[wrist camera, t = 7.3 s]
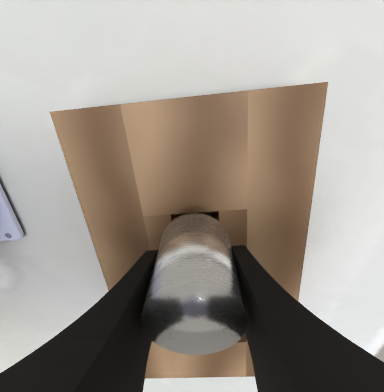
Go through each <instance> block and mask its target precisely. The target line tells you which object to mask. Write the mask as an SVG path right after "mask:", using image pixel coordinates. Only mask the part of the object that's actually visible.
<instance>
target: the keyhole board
mask: <svg viewBox="0 0 384 392" xmlns="http://www.w3.org/2000/svg"><path fill="white" fill-rule="evenodd" d="M327 86H328V82H323V83H314V84H304V85H295V86H286V87H277V88H267V89H258V90H249V91H239V92H230V93H221V94H212V95H202V96H193V97H184V98H175V99H165V100H156V101H147V102H137V103H128V104H119V105H110V106H100V107H91V108H82V109H73V110H63V111H54V112H50V114H51V117H52V120H53V123H54V126H55V129H56V132H57V135H58V138H59V141H60V144H61V148H62V151H63V154H64V157H65V160H66V163H67V166H68V169H69V172H70V175H71V178H72V181H73V184H74V187H75V190H76V193H77V196H78V199H79V202H80V205H81V208H82V211H83V214H84V217H85V220H86V223H87V226H88V229H89V232H90V235H91V238H92V241H93V244H94V247H95V250H96V253H97V257H98V260H99V263H100V266H101V269H102V272H103V275H104V278H105V281H106V284H107V287H108V290H109V291H110V290H111V289H112V288H113V287H114V286H115V285H116V284H117V282H118V281H119V280H120V279H121V278H122V277H123V276H124V275H125V274H126V273H127V272H128V271H129V269H130V268H131V267H132V266H133V265H134V264H135V263H136V262H137V260H138V259H139V258H140V257H141V256H142V255H143V254H144V253H145V251H150V250H159V246H160V242H161V238H162V235H163V232H164V230H165V228H166V227H167V225H168V224H169V223H170V222H171V221H173V220H174V219H173V214H184V213H198V212H213V211H218V221H219V222H220V223H221V224H222V225H223V226H224V227H225V229H226V230H227V233H228V236H229V240H230V244H231V249H232V246H237V245H245V246H246V247H247V248H248V250H249V251H250V252H251V254H252V255H253V256H254V257H255V259H256V260H257V261H258V262H259V263H260V264H261V265H262V267H263V268H264V269H265V270H266V271H267V272H268V273H269V274H270V275H271V276H272V277H273V278H274V279H275V280H276V281H277V282H278V283H279V284H280V285H281V286H282V287H283V288H284V289H285V290H286V291H287V292H288V293H289V294H290V295H291V296H292V297H293V298H295V299H296V300H297V301H298V298H299V291H300V283H301V276H302V269H303V261H304V254H305V247H306V240H307V232H308V225H309V218H310V210H311V203H312V196H313V188H314V181H315V174H316V166H317V159H318V152H319V144H320V137H321V130H322V123H323V115H324V108H325V101H326V93H327ZM247 376H255V373H254V368H253V363H252V358H251V354H250V350H249V346H248V342H247V338H246V335H245V333H244V335H243V336H242V338H241V339H240V340H239V341H238V342H237V343H235V344H234V345H232V346H231V347H229V348H227V349H225V350H222V351H219V352H216V353H212V354H205V355H187V354H180V353H176V352H172V351H170V350H167V349H165V348H162V347H161V346H159V345H157V344H156V343H154V342H153V341H152V343H151V347H150V351H149V356H148V361H147V366H146V373H145V378H193V377H247Z"/></svg>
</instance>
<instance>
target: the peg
mask: <svg viewBox="0 0 384 392" xmlns="http://www.w3.org/2000/svg"><path fill="white" fill-rule="evenodd" d="M173 219H174V220H173V221H171V222H170V223H169V224H168V225H167V227H166V228H165V230H164V232H163V235H162V238H161V242H160V246H159V250H158V254H157V257H156V261H155V265H154V269H153V273H152V276H151V280H150V284H149V288H148V292H147V295H146V299H145V303H144V307H143V311H142V315H141V324H142V328H143V330H144V332H145V333H146V335H147V336H148V337H149V338H150V339H151V340H152V341H153V342H154V343H156V344H157V345H159V346H161V347H162V348H165V349H167V350H170V351H172V352H176V353H180V354H187V355H205V354H212V353H216V352H219V351H222V350H225V349H227V348H229V347H231V346H232V345H234V344H235V343H237V342H238V341H239V340H240V339H241V338H242V336H243V335H244V333H245V331H246V328H247V323H248V322H247V315H246V311H245V306H244V302H243V297H242V293H241V288H240V284H239V280H238V275H237V271H236V266H235V262H234V257H233V253H232V249H231V244H230V240H229V236H228V233H227V230H226V229H225V227H224V226H223V225H222V224H221V223H220V222H219V221H218V211H213V212H198V213H184V214H173Z"/></svg>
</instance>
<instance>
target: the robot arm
mask: <svg viewBox="0 0 384 392" xmlns="http://www.w3.org/2000/svg"><path fill="white" fill-rule="evenodd" d="M10 234H11V235H10ZM23 236H24V233H23V231H22V229H21V226H20V224H19V222H18V220H17V218H16V216H15V214H14V212H13V210H12V207H11V205H10V203H9V201H8V199H7V197H6V195H5V193H4V190H3V188H2V186H1V184H0V241H11V240H19V239H21V238H22V237H23ZM232 253H233V257H234V262H235V266H236V271H237V275H238V280H239V284H240V288H241V293H242V297H243V302H244V306H245V311H246V315H247V322H248V323H247V328H246V331H245V335H246V338H247V342H248V346H249V350H250V354H251V358H252V363H253V368H254V373H255V379H256V384H257V389H258V392H384V362H382V361H381V360H379V359H377V358H376V357H374V356H373V355H371V354H370V353H368V352H367V351H365V350H364V349H362V348H360V347H359V346H357V345H356V344H354V343H353V342H351V341H350V340H348V339H347V338H345V337H344V336H342V335H341V334H340V333H338V332H337V331H336V330H334V329H333V328H331V327H330V326H329V325H327V324H326V323H325V322H323V321H322V320H320V319H319V318H318V317H316V316H315V315H314V314H313V313H311V312H310V311H309V310H308V309H306V308H305V307H304V306H303V305H302V304H300V303H299V302H298V301H297V300H296V299H295V298H293V297H292V296H291V295H290V294H289V293H288V292H287V291H286V290H285V289H284V288H283V287H282V286H281V285H280V284H279V283H278V282H277V281H276V280H275V279H274V278H273V277H272V276H271V275H270V274H269V273H268V272H267V271H266V270H265V269H264V268H263V267H262V265H261V264H260V263H259V262H258V261H257V260H256V259H255V257H254V256H253V255H252V254H251V252H250V251H249V250H248V248H247V247H246V246H245V245H237V246H232ZM157 254H158V250H150V251H145V253H144V254H143V255H142V256H141V257H140V258H139V259H138V260H137V262H136V263H135V264H134V265H133V266H132V267H131V268H130V269H129V271H128V272H127V273H126V274H125V275H124V276H123V277H122V278H121V279H120V280H119V281H118V282H117V284H116V285H115V286H114V287H113V288H112V289H111V290H110V291H109V292H107V293H106V294H105V295H104V296H103V297H102V298H101V299H100V300H99V301H98V302H97V303H96V304H95V305H94V306H93V307H91V308H90V309H89V310H88V311H87V312H86V313H84V314H83V315H82V316H81V317H80V318H78V319H77V320H76V321H75V322H73V323H72V324H71V325H69V326H68V327H67V328H65V329H64V330H63V331H62V332H60V333H59V334H58V335H56V336H55V337H54V338H52V339H51V340H50V341H48V342H47V343H45V344H44V345H42V346H41V347H40V348H38V349H37V350H35V351H34V352H32V353H31V354H29V355H28V356H26V357H25V358H23V359H22V360H20V361H19V362H17V363H16V364H14V365H13V366H11V367H10V368H8V369H6V370H5V371H3V372H2V373H0V392H143V386H144V379H145V373H146V366H147V361H148V356H149V351H150V347H151V343H152V340H151V339H150V338H149V337H148V336H147V335H146V333H145V332H144V330H143V328H142V324H141V315H142V311H143V307H144V303H145V299H146V295H147V292H148V288H149V284H150V280H151V276H152V273H153V269H154V265H155V261H156V257H157Z"/></svg>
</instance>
